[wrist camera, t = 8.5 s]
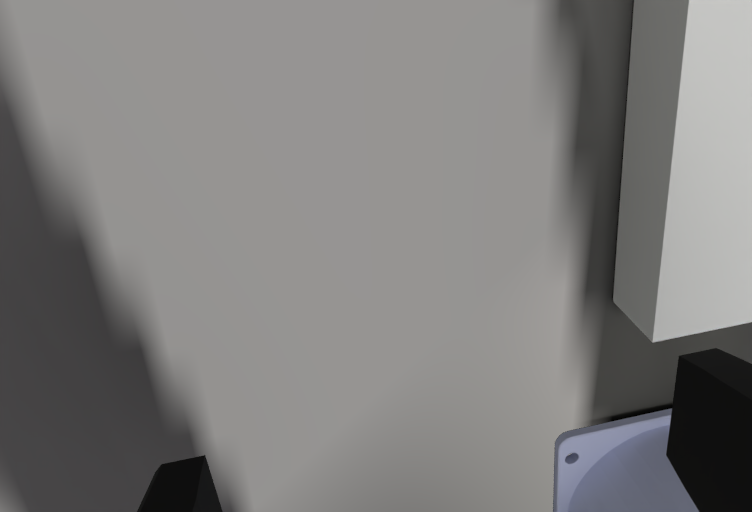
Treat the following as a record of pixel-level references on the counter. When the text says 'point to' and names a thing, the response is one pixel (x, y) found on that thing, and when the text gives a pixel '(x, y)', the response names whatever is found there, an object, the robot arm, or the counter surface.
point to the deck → (687, 169)
